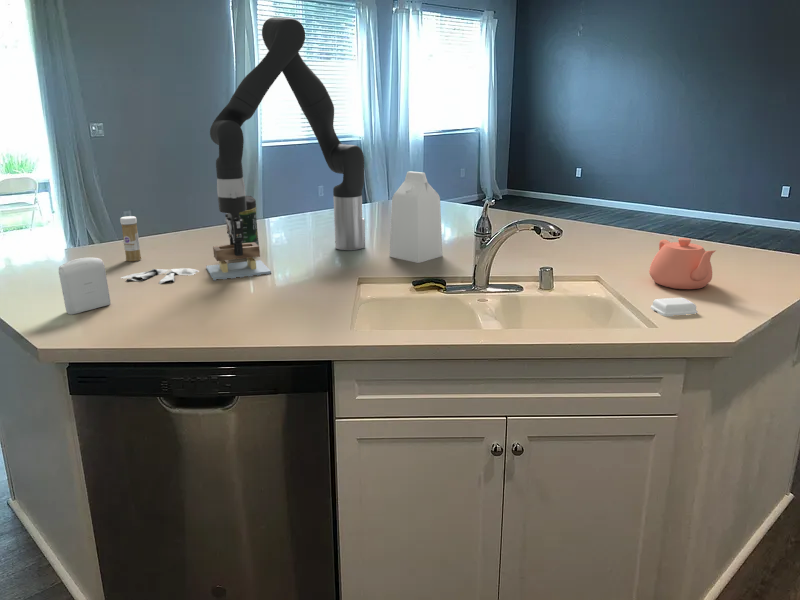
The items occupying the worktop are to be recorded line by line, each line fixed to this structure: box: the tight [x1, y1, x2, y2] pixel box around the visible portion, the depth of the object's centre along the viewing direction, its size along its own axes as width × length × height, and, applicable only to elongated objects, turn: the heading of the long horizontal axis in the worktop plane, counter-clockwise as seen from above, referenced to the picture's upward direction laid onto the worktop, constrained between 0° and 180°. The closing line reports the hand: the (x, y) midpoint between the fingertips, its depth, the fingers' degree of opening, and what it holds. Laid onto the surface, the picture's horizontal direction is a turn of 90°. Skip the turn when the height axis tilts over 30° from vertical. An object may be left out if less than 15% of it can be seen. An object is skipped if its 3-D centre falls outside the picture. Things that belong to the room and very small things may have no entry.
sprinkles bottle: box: [119, 215, 142, 263], centre depth 196 cm, size 5×5×13 cm
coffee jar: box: [236, 195, 260, 247], centre depth 201 cm, size 10×8×19 cm
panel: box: [206, 257, 272, 281], centre depth 185 cm, size 16×14×3 cm
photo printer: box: [58, 256, 111, 315], centre depth 152 cm, size 10×4×12 cm, turn 140°
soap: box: [650, 297, 699, 317], centre depth 149 cm, size 9×7×3 cm
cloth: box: [120, 267, 200, 285], centre depth 179 cm, size 20×22×2 cm
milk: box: [389, 171, 443, 264], centre depth 197 cm, size 12×12×26 cm
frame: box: [212, 242, 261, 262], centre depth 184 cm, size 12×6×3 cm, turn 114°
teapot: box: [648, 237, 717, 290], centre depth 168 cm, size 22×15×12 cm
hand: (236, 252), depth 184 cm, fingers closed on frame, 6 cm apart
